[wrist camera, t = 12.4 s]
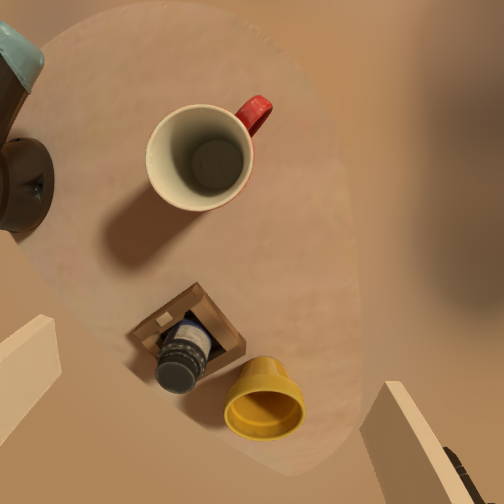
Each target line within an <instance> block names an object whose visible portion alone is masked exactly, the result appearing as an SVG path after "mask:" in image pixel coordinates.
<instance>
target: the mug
mask: <svg viewBox="0 0 504 504" xmlns="http://www.w3.org/2000/svg"><path fill="white" fill-rule="evenodd" d="M272 109H273V106H272V104H271V103H270V102H269V101H268V100H267V99H266V98H264V97H263V96H261V95H256V96H254V97H252V98H251V99H250V100H249V101H247V102H246V103H245V104H244V105H243V106H242V107H241V108H240V109H239V111H238V112H237V113H236V114H235V115H233V114H232V113H230V112H229V111H227V110H225V109H223V108H220V107H217V106H214V105H208V104H194V105H189V106H185V107H182V108H179V109H177V110H175V111H173V112H172V113H170V114H169V115H167V116H166V117H165V118H164V119H162V120H161V122H160V123H159V124H158V125H157V126H156V128H155V129H154V131H153V132H152V134H151V136H150V138H149V141H148V144H147V147H146V152H145V166H146V171H147V175H148V178H149V180H150V183H151V185H152V186H153V188H154V189H155V191H156V192H157V193H158V195H159V196H160V197H161V198H163V199H164V200H165V201H166V202H168V203H169V204H171V205H173V206H175V207H177V208H179V209H182V210H187V211H192V212H203V211H209V210H213V209H216V208H219V207H221V206H223V205H225V204H227V203H229V202H230V201H231V200H233V199H234V198H235V197H236V196H237V195H238V194H239V193H240V192H241V191H242V190H243V188H244V187H245V186H246V184H247V182H248V180H249V178H250V176H251V173H252V170H253V165H254V147H253V143H252V139H251V138H252V137H253V135H254V134H255V133H256V132H257V130H258V129H259V128H260V127H261V125H262V124H263V123H264V122H265V120H266V119H267V117H268V116H269V115H270V113H271V111H272Z"/></svg>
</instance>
